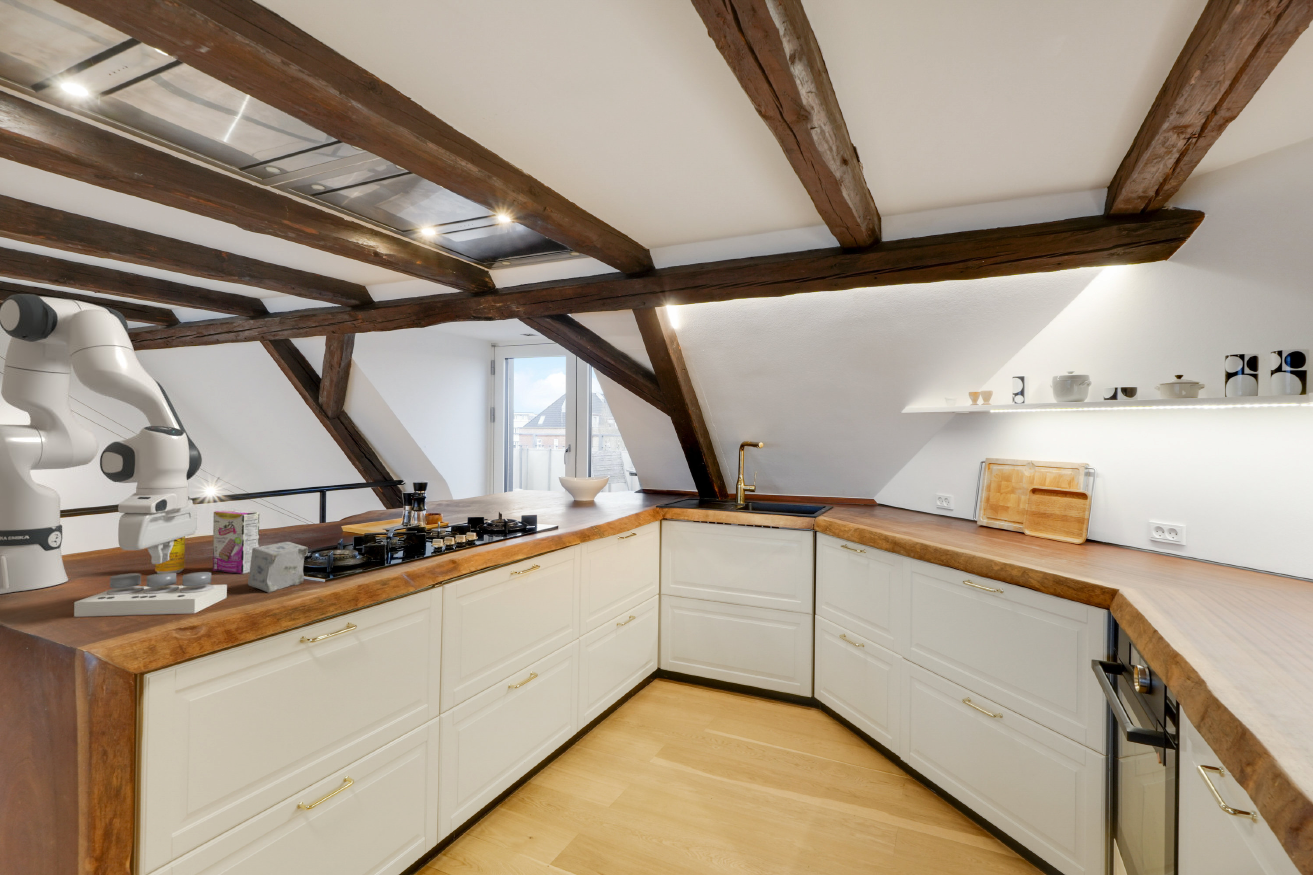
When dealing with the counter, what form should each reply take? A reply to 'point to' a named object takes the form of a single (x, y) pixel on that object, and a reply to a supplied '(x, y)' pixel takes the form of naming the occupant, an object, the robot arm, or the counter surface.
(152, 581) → the button three
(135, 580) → the button two
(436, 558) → the counter surface
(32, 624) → the counter surface
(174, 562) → the beer can
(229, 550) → the candy bar box
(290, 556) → the grey stone block
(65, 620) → the counter surface
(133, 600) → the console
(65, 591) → the counter surface
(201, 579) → the button one
